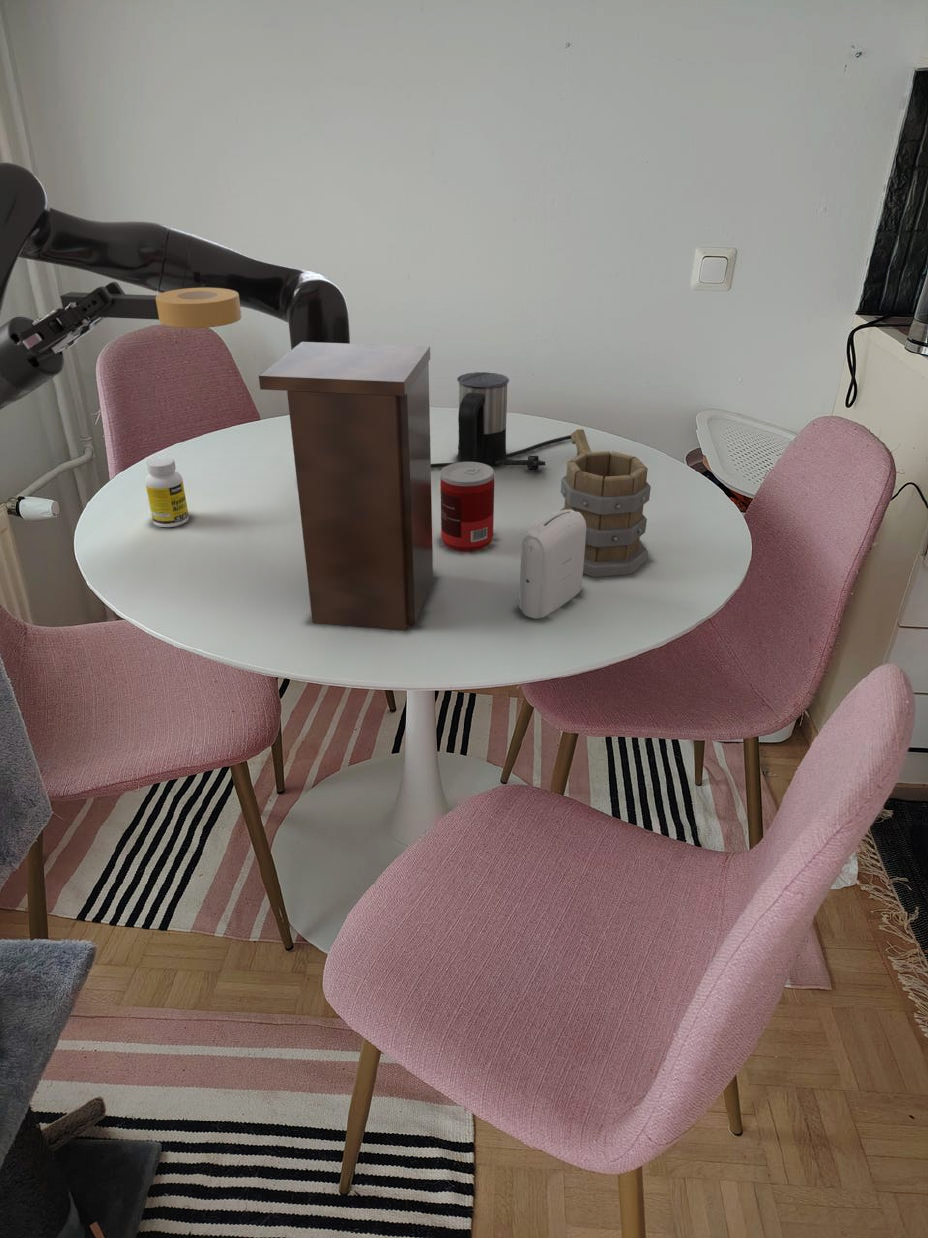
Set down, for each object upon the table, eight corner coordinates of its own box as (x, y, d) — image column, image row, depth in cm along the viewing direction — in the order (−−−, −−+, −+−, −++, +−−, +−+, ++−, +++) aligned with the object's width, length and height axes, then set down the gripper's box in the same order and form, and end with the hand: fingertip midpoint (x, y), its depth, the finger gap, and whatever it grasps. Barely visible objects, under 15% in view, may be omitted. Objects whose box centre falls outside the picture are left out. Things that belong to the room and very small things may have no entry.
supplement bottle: (179, 529, 131) (167, 469, 125) (146, 526, 131) (134, 466, 126) (195, 515, 135) (185, 456, 130) (164, 512, 136) (152, 453, 131)
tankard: (656, 573, 119) (669, 471, 111) (568, 580, 117) (575, 477, 109) (611, 513, 136) (620, 421, 128) (534, 519, 134) (538, 426, 126)
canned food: (499, 533, 130) (501, 464, 124) (483, 556, 123) (484, 484, 117) (452, 526, 132) (451, 458, 126) (433, 548, 125) (432, 477, 119)
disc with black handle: (252, 312, 100) (250, 288, 99) (223, 329, 93) (220, 304, 91) (89, 305, 103) (84, 282, 101) (47, 322, 95) (42, 297, 94)
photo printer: (540, 623, 107) (546, 534, 101) (513, 612, 110) (516, 524, 103) (586, 592, 114) (593, 507, 108) (559, 582, 116) (565, 498, 110)
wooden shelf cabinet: (289, 621, 108) (258, 375, 92) (323, 565, 121) (301, 341, 104) (413, 631, 106) (404, 381, 90) (434, 573, 119) (430, 346, 102)
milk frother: (457, 450, 160) (457, 370, 152) (542, 451, 159) (546, 371, 151) (454, 479, 148) (454, 394, 140) (546, 480, 147) (550, 395, 139)
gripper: (-48, 349, 96) (58, 271, 90) (24, 321, 108) (122, 250, 101) (-1, 407, 99) (105, 336, 92) (64, 374, 111) (162, 309, 104)
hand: (113, 292), depth 97 cm, fingers closed on disc with black handle, 2 cm apart
